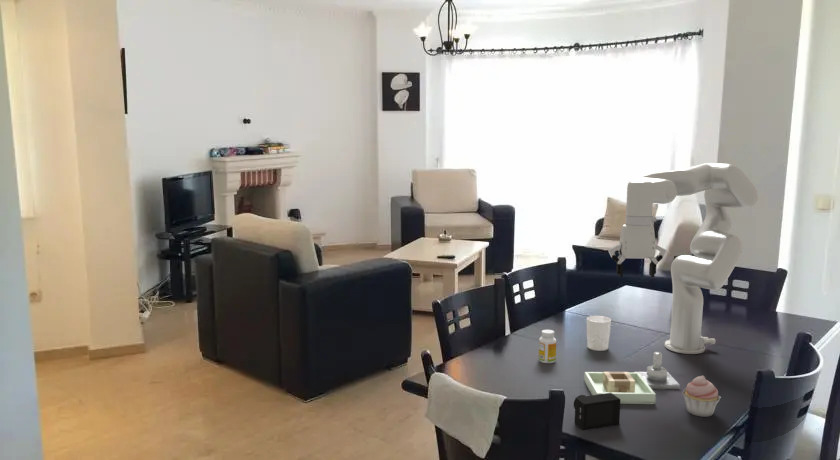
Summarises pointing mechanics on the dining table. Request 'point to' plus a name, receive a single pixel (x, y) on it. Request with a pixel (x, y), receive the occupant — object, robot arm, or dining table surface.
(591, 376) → the tray
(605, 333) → the white cup
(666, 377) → the grey stand
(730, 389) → the dining table surface
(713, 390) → the cupcake
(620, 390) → the wooden square frame
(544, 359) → the supplement bottle
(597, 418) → the digital camera
